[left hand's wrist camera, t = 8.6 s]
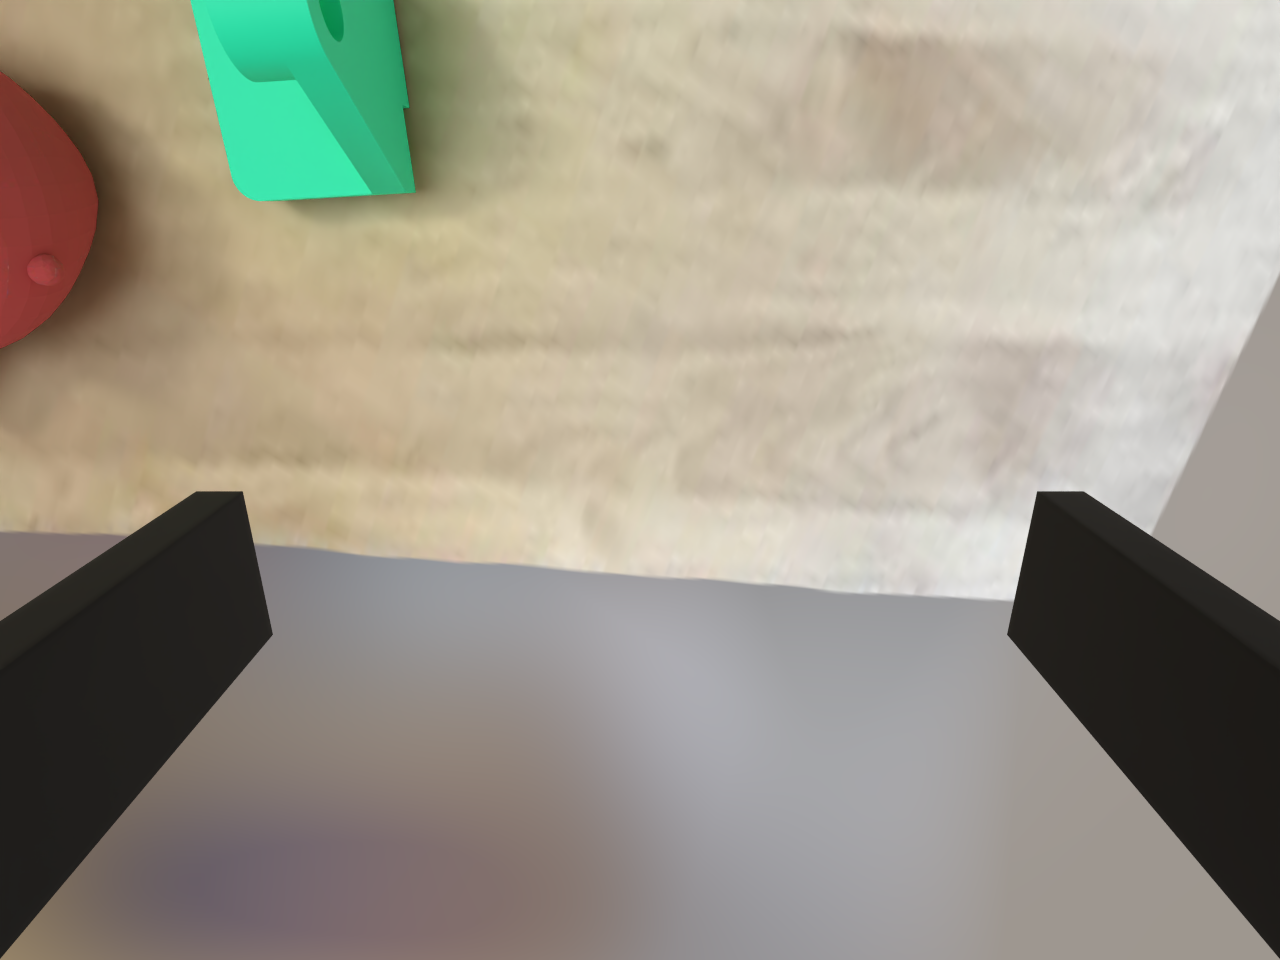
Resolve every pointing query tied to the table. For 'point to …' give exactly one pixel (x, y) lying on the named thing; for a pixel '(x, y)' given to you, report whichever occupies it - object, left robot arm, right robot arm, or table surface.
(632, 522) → the table surface
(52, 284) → the toy
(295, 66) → the camera mount
